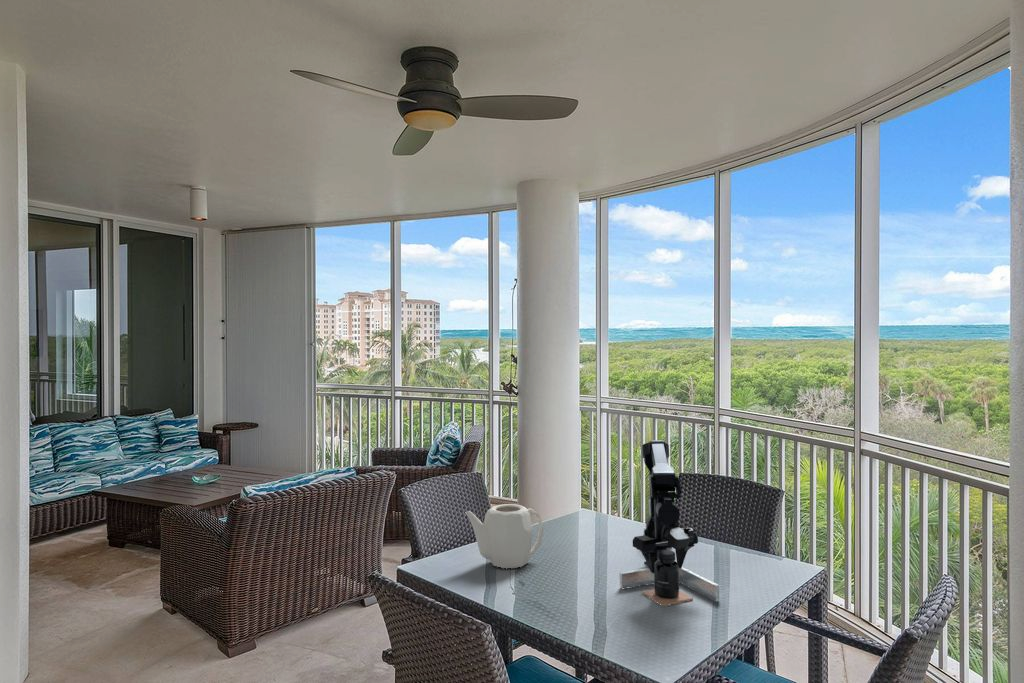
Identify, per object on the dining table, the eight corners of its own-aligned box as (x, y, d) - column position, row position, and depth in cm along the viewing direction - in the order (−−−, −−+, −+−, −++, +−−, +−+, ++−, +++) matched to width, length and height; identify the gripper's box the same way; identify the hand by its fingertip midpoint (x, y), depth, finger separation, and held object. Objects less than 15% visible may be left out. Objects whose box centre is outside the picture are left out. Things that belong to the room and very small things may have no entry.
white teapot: (461, 561, 207) (460, 505, 207) (536, 553, 213) (535, 499, 214) (470, 577, 192) (469, 517, 192) (550, 567, 198) (549, 509, 199)
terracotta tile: (642, 593, 175) (642, 591, 175) (670, 588, 179) (670, 586, 179) (662, 606, 166) (662, 604, 166) (692, 600, 170) (692, 598, 170)
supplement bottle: (659, 600, 169) (658, 556, 169) (651, 590, 176) (650, 548, 176) (683, 598, 170) (682, 555, 170) (674, 589, 176) (673, 547, 177)
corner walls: (619, 588, 180) (619, 572, 180) (675, 577, 187) (674, 563, 187) (659, 613, 161) (659, 596, 162) (719, 601, 169) (718, 584, 169)
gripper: (653, 526, 162) (655, 585, 162) (710, 518, 169) (711, 574, 169) (630, 516, 173) (632, 571, 172) (684, 509, 179) (686, 562, 179)
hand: (666, 570), depth 173 cm, fingers open, 9 cm apart
